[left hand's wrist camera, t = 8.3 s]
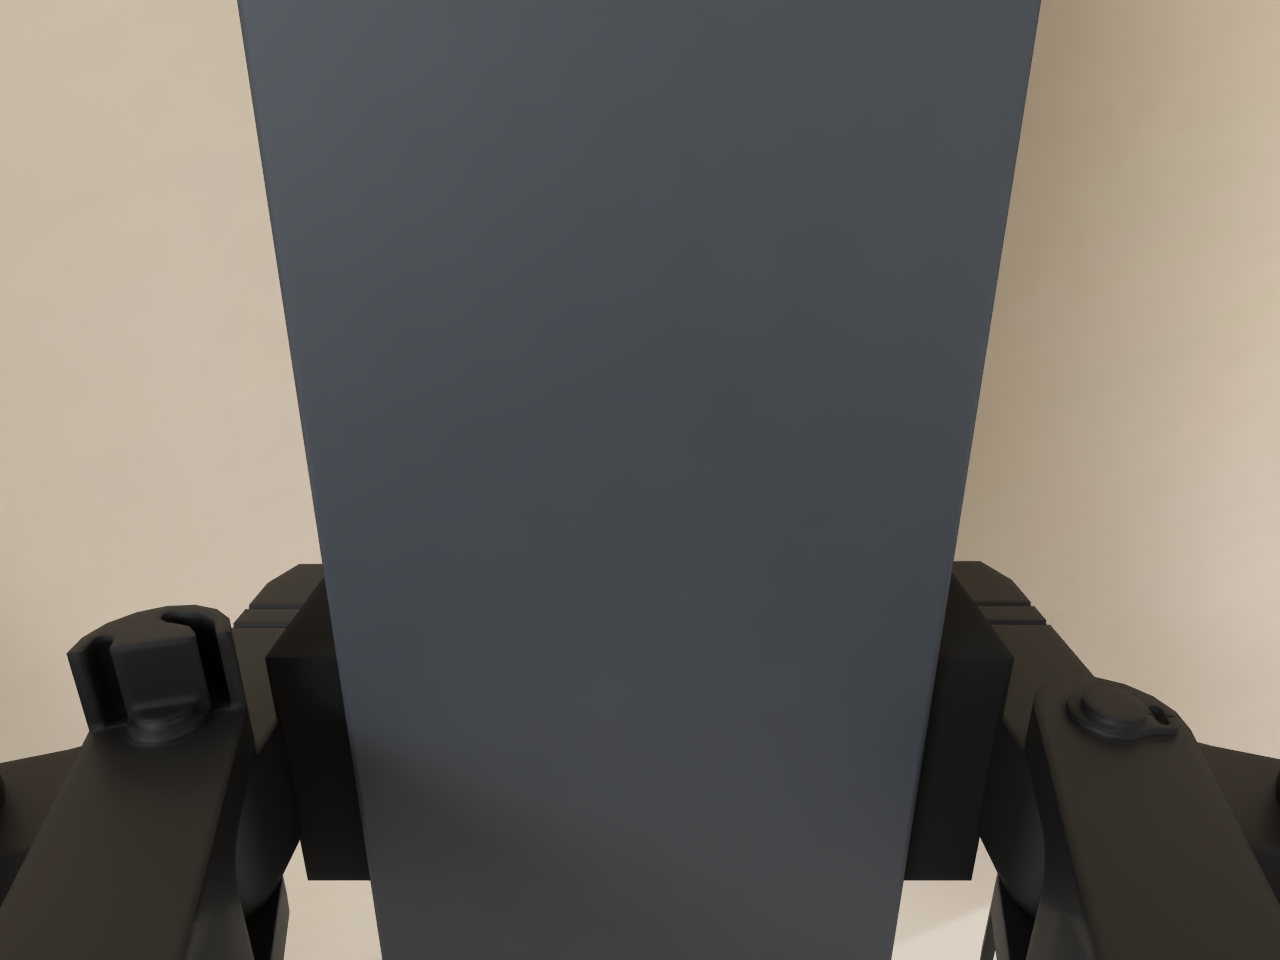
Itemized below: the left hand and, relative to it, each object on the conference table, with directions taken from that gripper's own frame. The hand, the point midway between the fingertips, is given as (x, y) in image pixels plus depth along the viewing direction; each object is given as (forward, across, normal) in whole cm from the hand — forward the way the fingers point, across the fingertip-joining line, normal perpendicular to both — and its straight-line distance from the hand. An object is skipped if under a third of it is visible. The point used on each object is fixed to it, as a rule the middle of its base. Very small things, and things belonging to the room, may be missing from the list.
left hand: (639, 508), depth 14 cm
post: (+1, 0, -21) cm, 21 cm away
